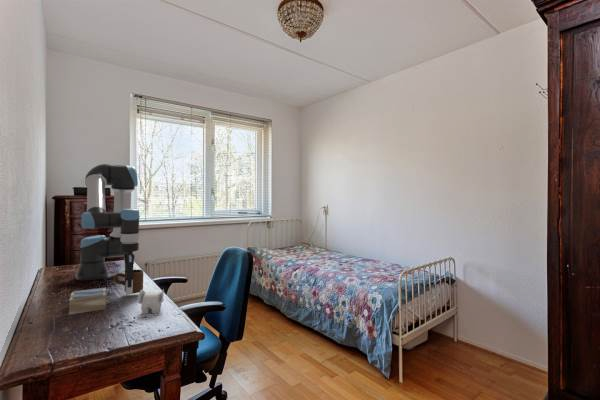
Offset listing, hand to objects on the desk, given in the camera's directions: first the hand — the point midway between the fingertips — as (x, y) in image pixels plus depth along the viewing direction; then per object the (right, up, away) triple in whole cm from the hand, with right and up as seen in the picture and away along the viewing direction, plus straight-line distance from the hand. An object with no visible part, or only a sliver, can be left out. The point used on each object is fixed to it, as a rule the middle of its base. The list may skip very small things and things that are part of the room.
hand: (128, 291), depth 141 cm
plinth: (-9, -2, -14) cm, 17 cm away
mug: (0, -1, 0) cm, 1 cm away
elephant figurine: (+19, -3, -17) cm, 26 cm away
